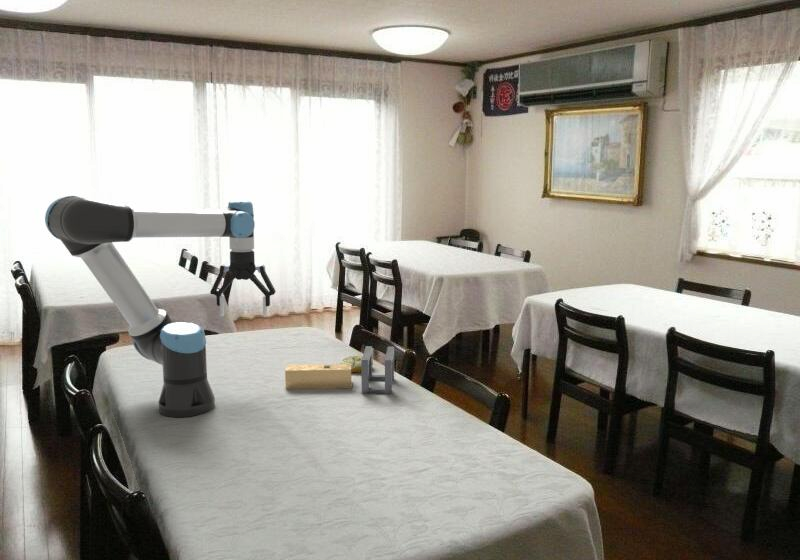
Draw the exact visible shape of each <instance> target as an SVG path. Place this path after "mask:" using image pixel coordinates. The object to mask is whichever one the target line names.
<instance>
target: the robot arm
mask: <svg viewBox="0 0 800 560" xmlns="http://www.w3.org/2000/svg"><path fill="white" fill-rule="evenodd" d="M253 206H254V205H253V203H252V201H248V200H230V201H228V203H227V207H225V208H223V207H222V208H221V207H219V208H213V207H212V208H205V207H204V208H198V209H185V208H183V209H181V208H178V209H177V208H143V207H141V208H140V207H132V206H131V205H130V204H127V203H119V202H118V203H116V202H111V201H104V200H99V199H95V198H90V197H89V198H88V197H81V196H76V195H68V196H63V197H59V198H57V199H55V200H53V202H51V204H50V205H49V206H48V207H47V209H46V212H45V215H44V222H45V226H46V228H47V230H48V231H49V233H50V234H51V235H52V236H53V237H54V238H56V239H57V240H60V241H61V242H62V244H63V245H64V247H65V248H66V249H67V250H68V251H67V252H69V253H70V255H71V256H72V257H76V258H81V260H82V261H83V263H84V264H85V265H86V266H87V268H88V270H89V271H90V272H91V274H92V275H93V276H94V278H95V279H96V281H97V282H98V283H99V284H100V286H101V287H102V288H103V290H104V291H105V293H106V294H107V295H108V297H109V299H110V300H111V301H112V302H113V304H114V305H115V306H116V308H117V309H118V311H119V312H120V314H121V315H122V316H123V318H124V319H125V321H126V322H127V324H128V325H129V326H128V330H127V332H128V335H129V336H130V338H131V339H132V345H133V347H134V349H135V350H136V352H137V353H138V354H139V355H140V356H141V357H143V358H145V359H147V360H148V361H152V362H155V363H157V364H159V365H161V366H162V376H163V377H162V379H163V385H162V387H161V392H160V394H159V395H160V396H159V399H158V403H157V404H158V407H157V408H158V413H160V414H161V415H162V414H163V416H165V415H166V417H171V418H185V417H186V418H187V417H194V416H199V415H201V414H205V413H207V412H209V411H211V410H212V409H214V408H215V406H216V405H215V404H216V398H215V394H214V393H213V390H212V388H211V384H210V382H209V380H208V366H207V365H208V364H207V348H206V347H207V346H206V345H207V339H206V338H207V337H206V334H205V330H204V329H203V327H201V326H200V325H199V324H196V323H193V322H187V321H185V322H184V321H179V322H178V321H177V322H173V320H172V319H171V317H170V316H169V314H168V313H167V311H166V310H165V309H163V308H157V306H156V305H155V303H154V302H153V301H152V299H151V297H150V296H149V294H148V293H147V291H146V290H145V289H144V287H143V285H141V283H140V281H139V280H138V278H137V277H136V275H135V274H134V272H133V271H132V269H131V268H130V267H129V266H128V264H127V262H126V261H125V259H124V257H122V255H121V253H120V252H119V251H118V249H117V247H116V246H115V245H114V243H120V242H121V243H122V242H123V243H125V242H126V243H127V242H130V241H132V240H133V239H135V238H138V239H140V238H213V237H214V238H216V237H218V238H219V237H220V238H229V250H230V251H229V265H225V264H221V266H220V267H219V273H218V275H217V277H216V279H215V281H214V283H213V285H212V287H211V290H210V295H214V296H215V297H216V306H217V307H219V317H220V318H223V317H224V316H225V315H226V314H225V312H226V311H225V295H223V293H224V292H225V291H226V290H227V288H228V287H229V286H230V285H231V283H232V282H233V281H234V280H235V279H236V280H237V281H239V280H240V281H241V280H244V281H247V280H250V281H251V282H253V283H254V285H255V286H256V287H257V288H258V289H259V290H260V291H261V293H262V294H263V296H262V316H263V317H262V318H266V317H267V316H268V307H269V306H270V305H271V296H274V295H275V293H276V292H277V290H276V288H275V287H274V285H273V283H272V281H271V279H270V277H269V275H268V274H267V272H266V266H265V265H264V264H262V265H256V264H255V251H254V249H255V235H254V233H255V231H254V230H255V224H256V223H255V220H254V218H255V217H254V216H255V215H254V207H253ZM228 270H229V272H230V273H231V275H230V276H229V277H228V279H227V280H226V281H225V283H224V284H223V285H222V286H221V287H220V288H219V286H220V284H221V282H222V280H223V278H224V275H225V273H227V272H228ZM256 271H257V272H258V274H260V275H261V277H262V279H263V281H264V283H265V285H266V286H265V285H264V284H263V283H262V282H261V281H260V279H258V277H257V275H256V274H255V272H256ZM266 287H267V288H266ZM218 288H219V290H218Z"/></svg>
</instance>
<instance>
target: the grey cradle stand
mask: <svg viewBox="0 0 800 560" xmlns="http://www.w3.org/2000/svg"><path fill="white" fill-rule="evenodd" d="M372 360H373V346H370V345H366V346H365V348H364V352H363V353H362V359H361V372H360V374H361V394H364V395H365V394H380V395H382V394H385V395H392V393H393V382H394V380H395V346H387V348H386V354H385V358H384V374H373V365H372ZM370 381H384V387H375V386H374V387H373V386H371V387H370Z"/></svg>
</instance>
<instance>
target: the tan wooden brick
mask: <svg viewBox="0 0 800 560" xmlns="http://www.w3.org/2000/svg"><path fill="white" fill-rule="evenodd" d="M284 370H285V371H284V372H285V373H284V375H285V376H284V377H285V389H287V390H288V389H290V390H291V389H339V388H340V389H343V388H346V389H347V388H349V389H350V388H352V372H351V364H341V363H320V364H319V363H315V364H313V363H311V364H309V363H308V364H307V363H305V364H301V363H300V364H286V368H285V369H284Z"/></svg>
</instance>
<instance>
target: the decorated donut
mask: <svg viewBox="0 0 800 560" xmlns="http://www.w3.org/2000/svg"><path fill="white" fill-rule="evenodd" d="M362 356H363V354H362V355H361V354H356V355H355V354H354V355H350V356H347V357H345V358H343V359H342V360H341V361H340V364H351V373H356V372H358V373H361V359H362ZM373 365H374V360H373V359H372V366H373Z"/></svg>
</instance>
